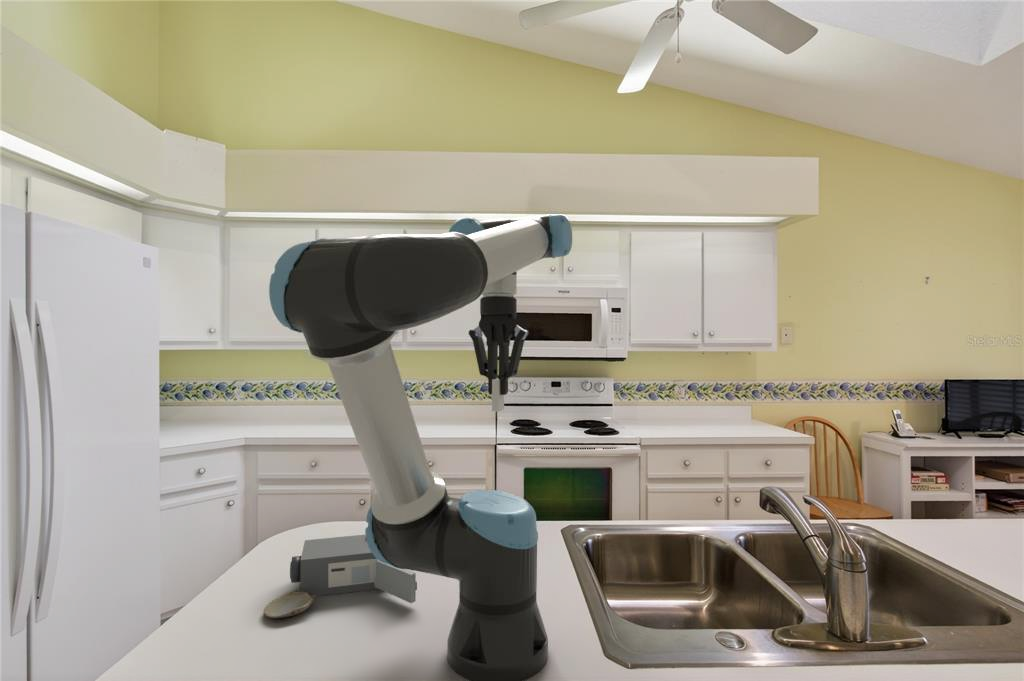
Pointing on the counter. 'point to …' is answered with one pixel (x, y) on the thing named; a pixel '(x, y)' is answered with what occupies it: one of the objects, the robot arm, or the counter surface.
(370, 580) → the camera body
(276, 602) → the seashell
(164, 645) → the counter surface
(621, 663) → the counter surface
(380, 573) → the side door
